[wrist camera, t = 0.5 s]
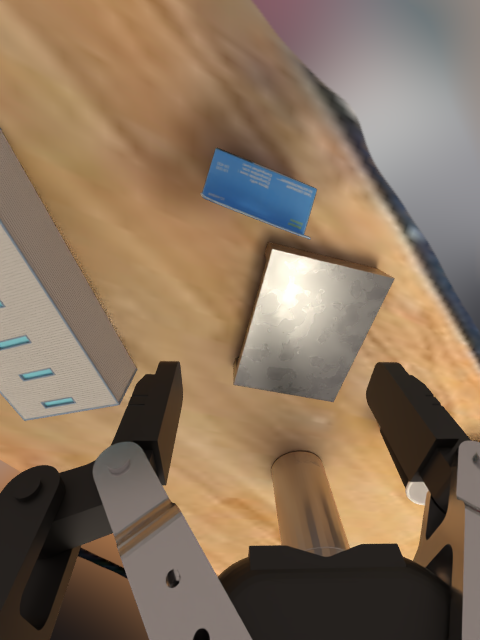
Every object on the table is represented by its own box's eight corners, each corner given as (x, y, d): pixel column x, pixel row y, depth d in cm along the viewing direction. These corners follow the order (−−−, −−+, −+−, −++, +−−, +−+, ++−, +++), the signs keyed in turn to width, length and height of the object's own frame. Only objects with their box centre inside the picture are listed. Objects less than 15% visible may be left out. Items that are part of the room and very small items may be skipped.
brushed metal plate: (324, 383, 42) (333, 402, 38) (233, 366, 40) (233, 384, 37) (377, 268, 34) (394, 278, 31) (267, 241, 33) (272, 249, 29)
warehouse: (-118, 175, 29) (-225, 172, 22) (3, 127, 28) (-72, 109, 21) (49, 392, 42) (14, 432, 35) (138, 367, 40) (119, 404, 34)
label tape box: (299, 184, 30) (337, 185, 19) (283, 222, 32) (311, 243, 21) (220, 152, 29) (213, 133, 18) (209, 193, 30) (196, 199, 19)
